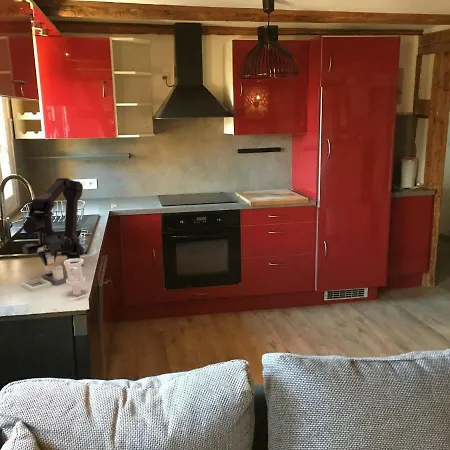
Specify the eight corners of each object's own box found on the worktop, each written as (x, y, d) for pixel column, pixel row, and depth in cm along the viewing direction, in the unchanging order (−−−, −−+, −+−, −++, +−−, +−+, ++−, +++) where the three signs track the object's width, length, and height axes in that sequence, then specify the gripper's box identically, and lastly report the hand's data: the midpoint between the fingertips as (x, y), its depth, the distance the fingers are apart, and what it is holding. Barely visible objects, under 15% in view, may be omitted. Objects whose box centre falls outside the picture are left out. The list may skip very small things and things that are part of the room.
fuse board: (43, 281, 210) (42, 274, 209) (54, 278, 213) (53, 271, 212) (56, 288, 201) (55, 281, 200) (68, 284, 205) (67, 277, 204)
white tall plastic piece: (64, 297, 191) (59, 259, 188) (78, 291, 197) (74, 254, 193) (76, 300, 187) (71, 261, 184) (90, 294, 193) (86, 256, 189)
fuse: (53, 282, 205) (51, 266, 203) (60, 280, 207) (58, 264, 205) (57, 284, 202) (55, 268, 201) (64, 282, 204) (62, 266, 203)
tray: (21, 288, 202) (21, 282, 202) (40, 283, 208) (40, 277, 207) (32, 294, 195) (31, 288, 195) (52, 288, 201) (51, 282, 200)
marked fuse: (45, 271, 209) (43, 255, 207) (51, 270, 211) (49, 254, 209) (49, 273, 206) (47, 257, 204) (55, 271, 208) (54, 255, 207)
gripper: (31, 235, 192) (36, 274, 196) (75, 226, 205) (79, 263, 208) (19, 231, 200) (24, 269, 203) (62, 223, 213) (66, 258, 216)
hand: (49, 264), depth 208 cm, fingers closed on marked fuse, 3 cm apart
